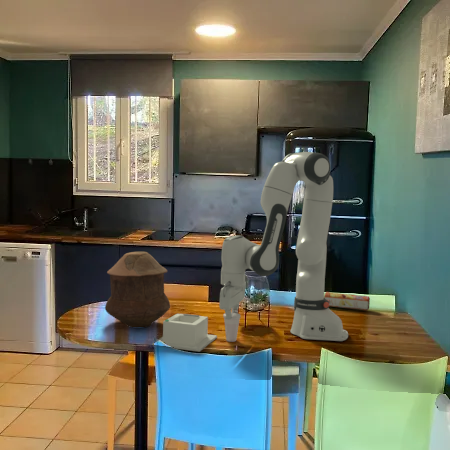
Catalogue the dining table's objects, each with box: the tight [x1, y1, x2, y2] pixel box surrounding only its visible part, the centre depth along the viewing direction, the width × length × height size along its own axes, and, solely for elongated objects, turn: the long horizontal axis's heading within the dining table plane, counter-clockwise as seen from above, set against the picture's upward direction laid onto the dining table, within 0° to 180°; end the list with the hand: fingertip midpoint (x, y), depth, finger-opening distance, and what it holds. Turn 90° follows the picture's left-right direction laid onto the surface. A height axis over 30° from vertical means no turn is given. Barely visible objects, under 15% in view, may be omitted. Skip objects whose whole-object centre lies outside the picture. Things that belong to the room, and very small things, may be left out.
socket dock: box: [151, 313, 218, 352], centre depth 191 cm, size 18×18×9 cm
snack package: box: [324, 291, 371, 311], centre depth 250 cm, size 21×7×7 cm
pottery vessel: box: [104, 251, 171, 328], centre depth 208 cm, size 26×26×30 cm
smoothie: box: [222, 307, 241, 343], centre depth 193 cm, size 6×6×14 cm
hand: (231, 316), depth 193 cm, fingers closed on smoothie, 6 cm apart
